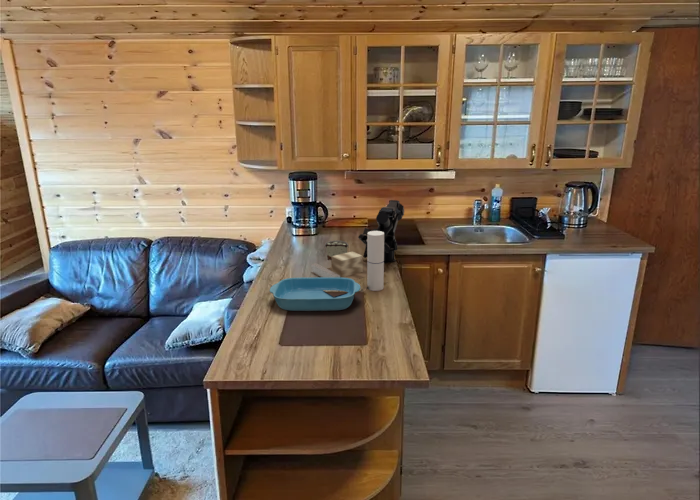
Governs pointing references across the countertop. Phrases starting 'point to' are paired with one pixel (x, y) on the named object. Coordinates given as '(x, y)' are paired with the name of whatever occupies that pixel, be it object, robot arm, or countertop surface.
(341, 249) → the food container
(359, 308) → the countertop surface
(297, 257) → the countertop surface
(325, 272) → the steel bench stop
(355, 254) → the maple block
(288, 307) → the casserole dish
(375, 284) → the cylindrical container
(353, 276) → the walnut board
